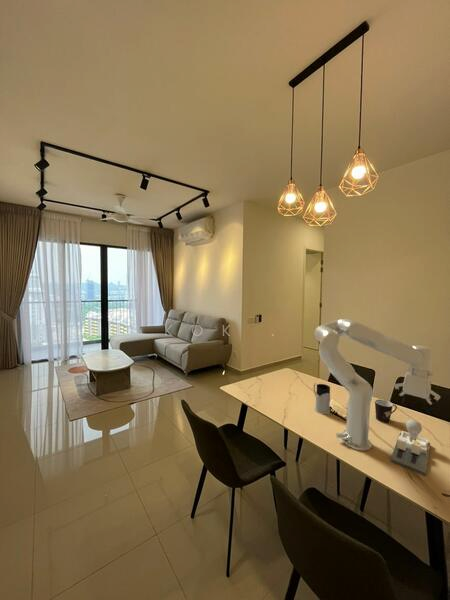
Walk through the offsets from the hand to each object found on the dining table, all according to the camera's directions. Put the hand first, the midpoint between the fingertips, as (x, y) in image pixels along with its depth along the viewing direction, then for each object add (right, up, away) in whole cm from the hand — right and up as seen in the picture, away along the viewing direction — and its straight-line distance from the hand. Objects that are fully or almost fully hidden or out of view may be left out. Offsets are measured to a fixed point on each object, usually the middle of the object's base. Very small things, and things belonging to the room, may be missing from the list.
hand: (414, 407), depth 119 cm
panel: (-5, -19, -4) cm, 20 cm away
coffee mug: (+1, -17, +23) cm, 29 cm away
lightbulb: (0, -18, +1) cm, 18 cm away
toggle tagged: (-3, -18, -5) cm, 19 cm away
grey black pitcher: (-31, -16, +36) cm, 50 cm away
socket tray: (+1, -18, +1) cm, 18 cm away
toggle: (-8, -17, -3) cm, 19 cm away
